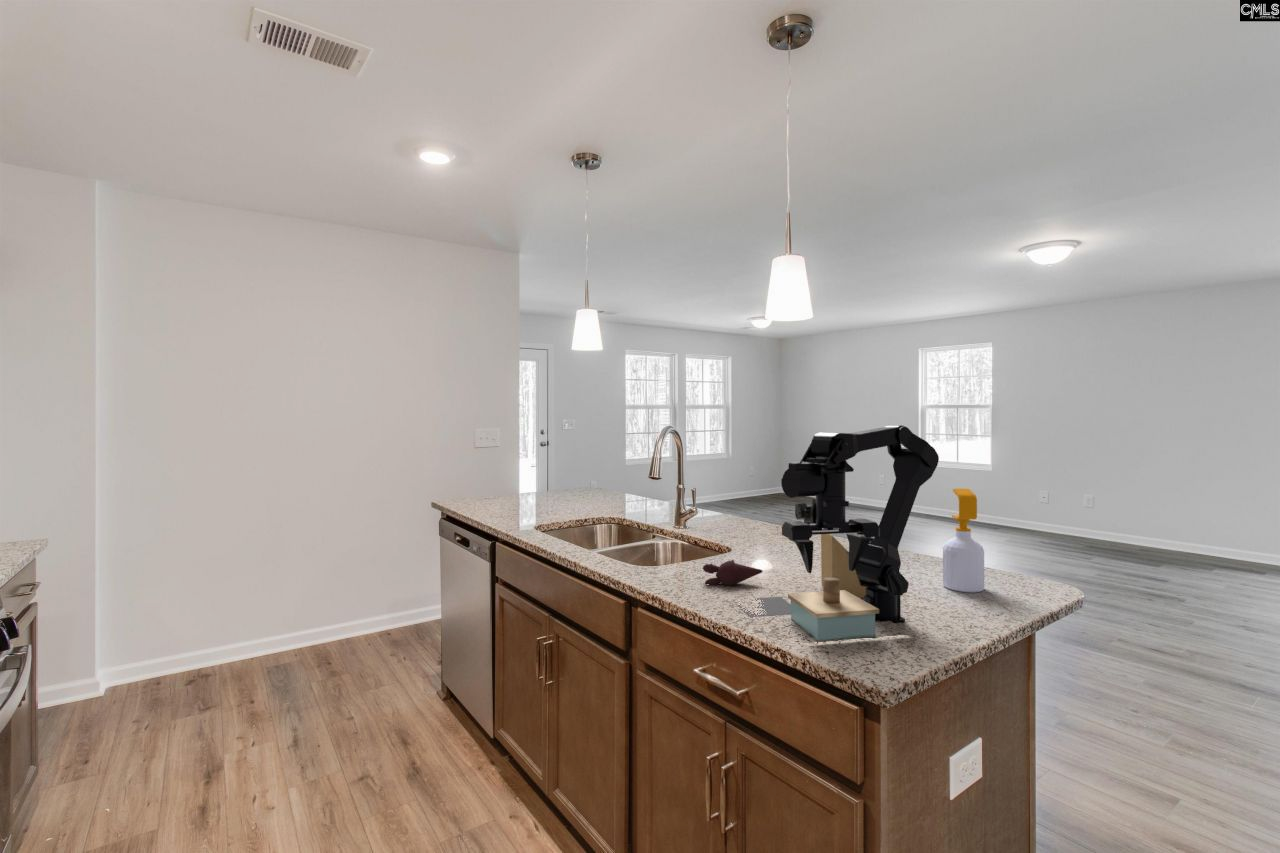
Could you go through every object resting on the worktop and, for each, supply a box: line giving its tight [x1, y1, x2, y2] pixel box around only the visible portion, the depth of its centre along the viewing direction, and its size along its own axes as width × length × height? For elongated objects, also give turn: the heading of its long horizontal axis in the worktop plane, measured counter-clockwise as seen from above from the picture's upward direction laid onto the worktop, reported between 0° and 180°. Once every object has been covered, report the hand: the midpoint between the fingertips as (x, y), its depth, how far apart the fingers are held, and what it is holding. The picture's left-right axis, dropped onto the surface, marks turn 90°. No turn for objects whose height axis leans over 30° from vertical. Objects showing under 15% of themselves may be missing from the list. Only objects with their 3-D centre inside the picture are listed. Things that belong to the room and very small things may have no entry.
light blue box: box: [790, 600, 876, 641], centre depth 121 cm, size 12×12×5 cm
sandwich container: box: [820, 534, 868, 598], centre depth 146 cm, size 9×15×15 cm, turn 90°
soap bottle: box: [942, 488, 985, 594], centre depth 148 cm, size 9×9×25 cm
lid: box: [787, 577, 879, 618], centre depth 121 cm, size 13×13×5 cm
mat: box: [737, 596, 791, 618], centre depth 134 cm, size 12×12×1 cm
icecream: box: [702, 559, 763, 587], centre depth 152 cm, size 7×7×15 cm
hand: (830, 571), depth 121 cm, fingers open, 9 cm apart
